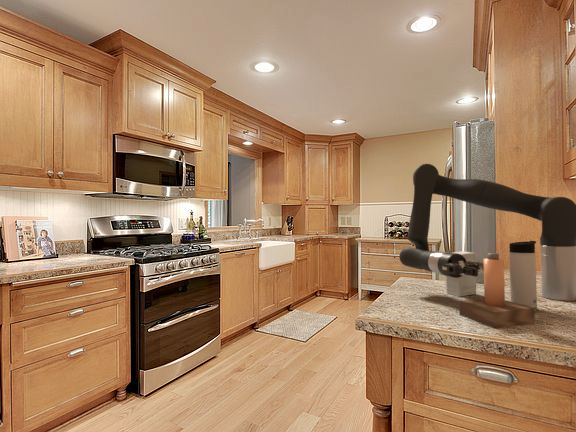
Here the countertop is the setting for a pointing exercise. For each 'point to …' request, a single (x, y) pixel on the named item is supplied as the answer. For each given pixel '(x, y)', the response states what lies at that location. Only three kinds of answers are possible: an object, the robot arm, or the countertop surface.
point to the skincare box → (462, 280)
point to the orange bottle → (494, 280)
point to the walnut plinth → (497, 313)
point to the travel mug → (523, 273)
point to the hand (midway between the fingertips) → (489, 271)
